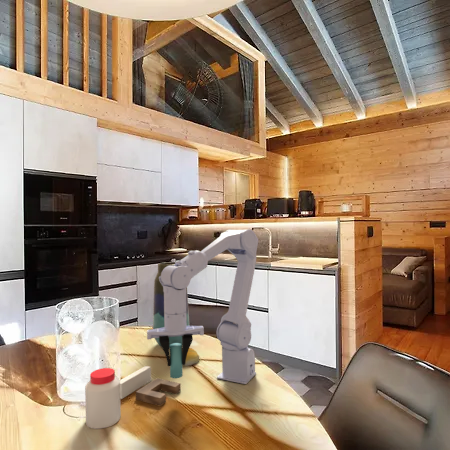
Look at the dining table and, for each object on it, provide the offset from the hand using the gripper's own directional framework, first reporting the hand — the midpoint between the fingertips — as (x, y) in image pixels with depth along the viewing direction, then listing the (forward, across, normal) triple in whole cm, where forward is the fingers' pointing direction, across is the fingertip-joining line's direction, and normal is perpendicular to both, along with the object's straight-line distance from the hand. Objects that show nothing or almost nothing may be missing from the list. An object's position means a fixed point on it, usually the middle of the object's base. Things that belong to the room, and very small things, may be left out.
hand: (176, 364), depth 90 cm
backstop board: (+9, +11, -9) cm, 17 cm away
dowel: (+3, 0, 0) cm, 3 cm away
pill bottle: (+10, +18, +5) cm, 21 cm away
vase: (+9, 0, -43) cm, 44 cm away
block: (+9, +5, -4) cm, 11 cm away
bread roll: (+10, -5, -26) cm, 28 cm away
